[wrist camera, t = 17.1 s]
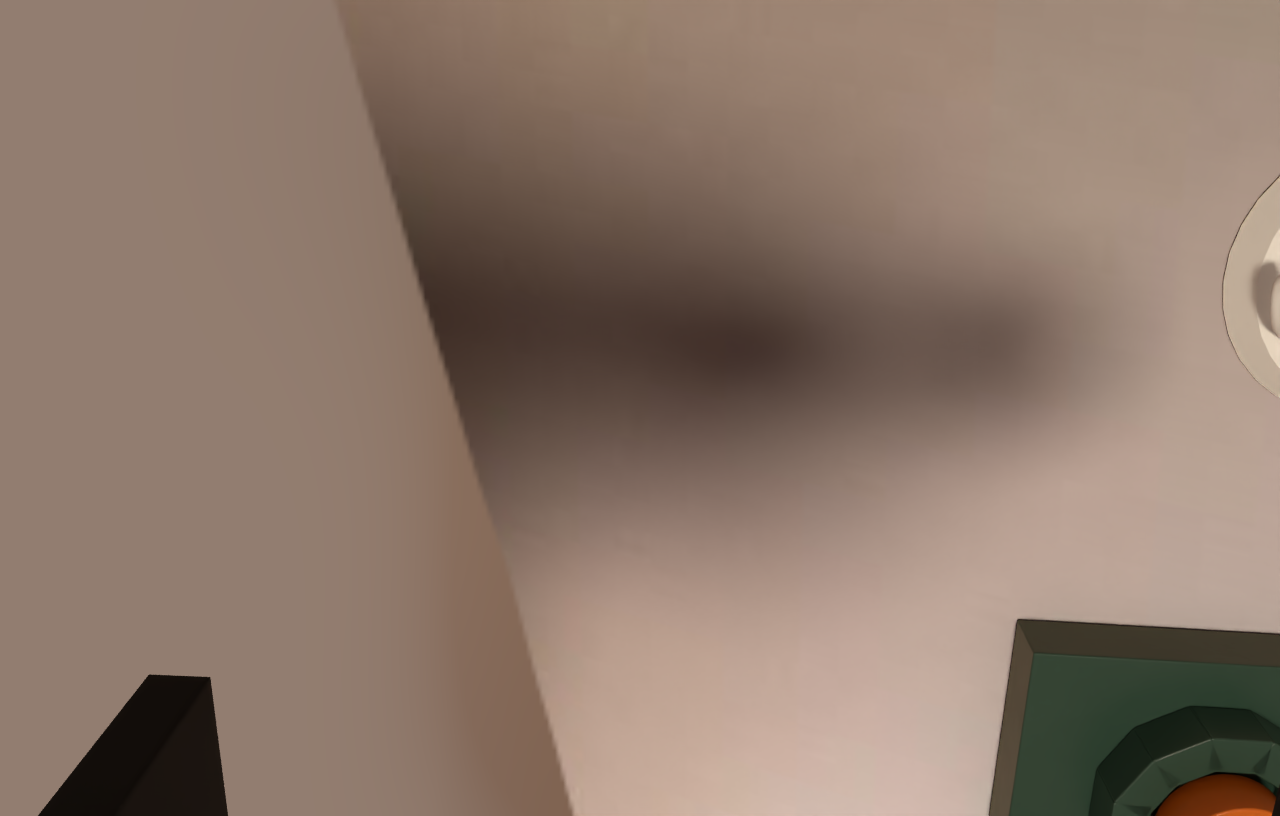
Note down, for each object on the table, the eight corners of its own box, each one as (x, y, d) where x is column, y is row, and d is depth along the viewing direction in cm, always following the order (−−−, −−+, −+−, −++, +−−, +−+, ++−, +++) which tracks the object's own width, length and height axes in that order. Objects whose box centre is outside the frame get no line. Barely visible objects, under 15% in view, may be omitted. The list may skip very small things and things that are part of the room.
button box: (981, 865, 42) (1006, 948, 38) (1017, 619, 39) (1048, 683, 35) (1323, 888, 41) (1384, 976, 37) (1388, 640, 38) (1462, 708, 34)
